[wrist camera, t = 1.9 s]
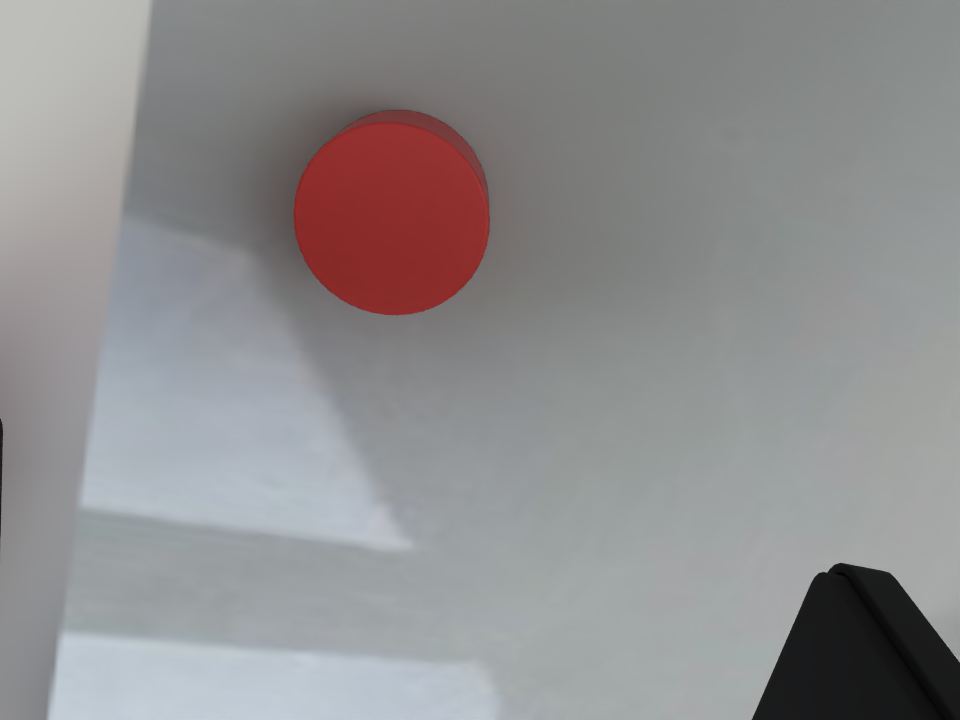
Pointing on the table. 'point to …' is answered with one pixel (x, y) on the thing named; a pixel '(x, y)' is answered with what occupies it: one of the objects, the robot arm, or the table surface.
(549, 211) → the table surface
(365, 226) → the cylinder
